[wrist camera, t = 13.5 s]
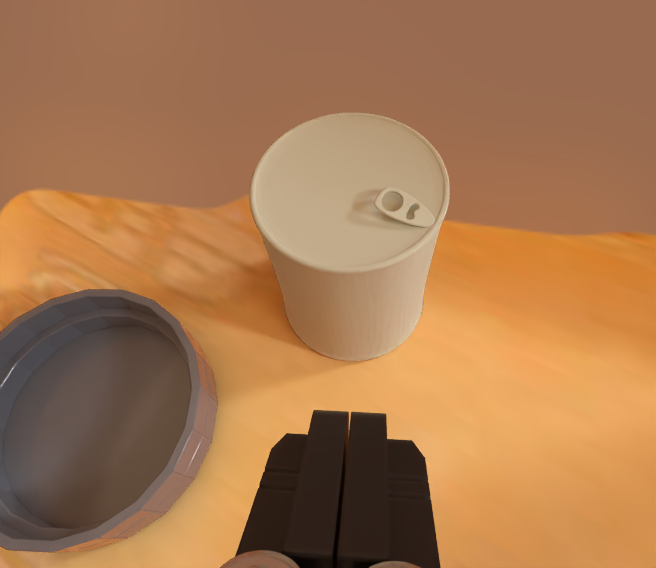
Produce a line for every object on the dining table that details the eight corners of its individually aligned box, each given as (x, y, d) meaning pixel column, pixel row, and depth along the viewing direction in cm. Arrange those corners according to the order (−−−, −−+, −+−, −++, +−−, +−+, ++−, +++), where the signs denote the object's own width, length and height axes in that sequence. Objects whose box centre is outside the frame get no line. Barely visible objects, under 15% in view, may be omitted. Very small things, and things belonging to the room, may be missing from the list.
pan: (120, 279, 34) (92, 250, 30) (265, 399, 29) (251, 380, 26) (-51, 440, 29) (-109, 427, 26) (87, 611, 25) (41, 624, 21)
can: (379, 389, 29) (389, 305, 18) (257, 318, 32) (203, 209, 21) (447, 273, 32) (488, 145, 22) (330, 217, 35) (316, 80, 24)
